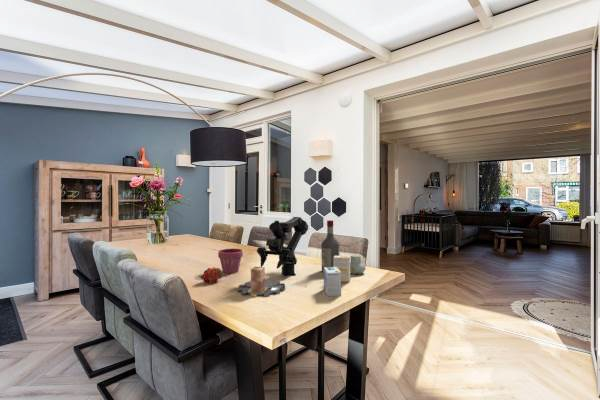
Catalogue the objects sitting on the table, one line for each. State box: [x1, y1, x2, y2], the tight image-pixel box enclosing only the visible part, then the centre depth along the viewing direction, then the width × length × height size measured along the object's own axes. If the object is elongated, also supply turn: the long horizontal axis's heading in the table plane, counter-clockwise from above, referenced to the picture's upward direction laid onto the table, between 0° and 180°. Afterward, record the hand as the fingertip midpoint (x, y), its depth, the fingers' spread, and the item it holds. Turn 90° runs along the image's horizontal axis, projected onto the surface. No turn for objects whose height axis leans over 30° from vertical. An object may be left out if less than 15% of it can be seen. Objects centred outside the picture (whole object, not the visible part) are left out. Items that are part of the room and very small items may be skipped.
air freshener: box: [350, 254, 367, 275], centre depth 179 cm, size 11×8×10 cm
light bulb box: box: [323, 267, 342, 297], centre depth 145 cm, size 11×7×11 cm, turn 5°
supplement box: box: [333, 255, 351, 283], centre depth 163 cm, size 8×5×13 cm, turn 71°
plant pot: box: [217, 248, 244, 275], centre depth 185 cm, size 14×14×13 cm
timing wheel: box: [237, 279, 286, 298], centre depth 151 cm, size 23×23×1 cm
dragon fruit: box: [199, 266, 223, 284], centre depth 164 cm, size 8×8×12 cm
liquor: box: [321, 219, 340, 273], centre depth 183 cm, size 9×9×30 cm
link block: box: [250, 266, 266, 291], centre depth 146 cm, size 5×5×10 cm
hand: (269, 267), depth 156 cm, fingers open, 9 cm apart
